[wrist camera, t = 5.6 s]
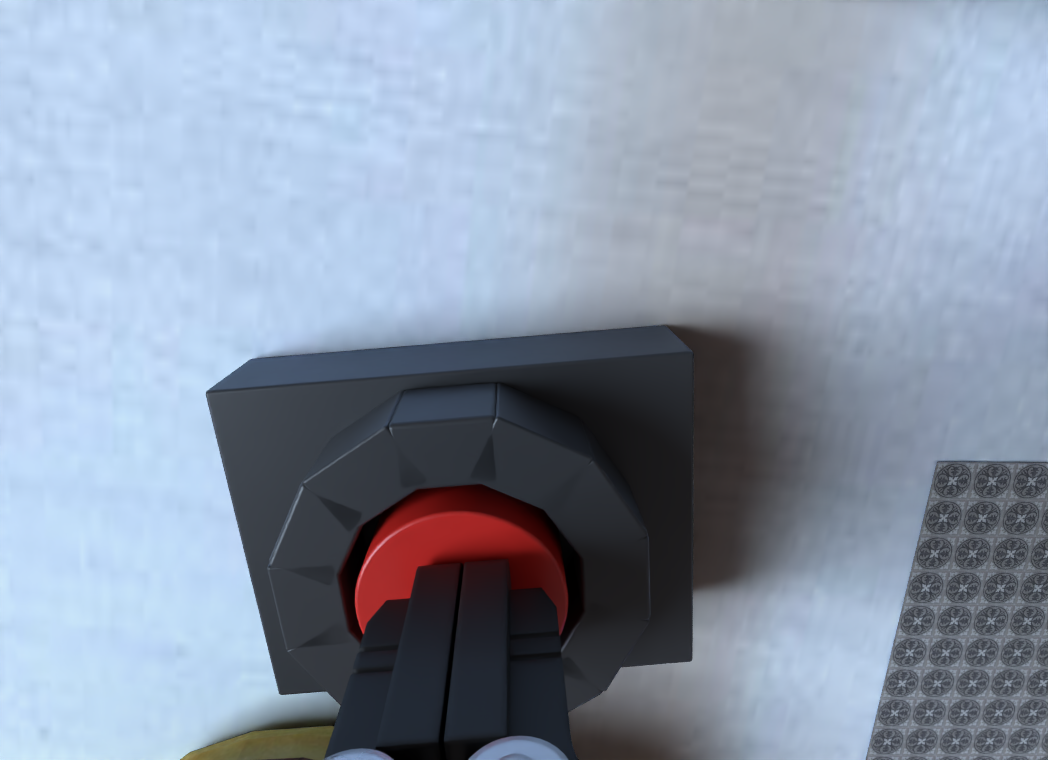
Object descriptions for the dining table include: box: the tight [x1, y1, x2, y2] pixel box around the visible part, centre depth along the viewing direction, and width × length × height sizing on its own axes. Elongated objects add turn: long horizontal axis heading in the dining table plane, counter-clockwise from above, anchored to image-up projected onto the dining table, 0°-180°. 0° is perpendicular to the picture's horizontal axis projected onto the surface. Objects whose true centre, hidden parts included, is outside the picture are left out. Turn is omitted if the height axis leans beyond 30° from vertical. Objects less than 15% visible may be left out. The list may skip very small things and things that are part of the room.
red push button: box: [355, 484, 568, 635], centre depth 12 cm, size 4×4×2 cm
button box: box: [206, 325, 694, 712], centre depth 13 cm, size 9×7×4 cm
